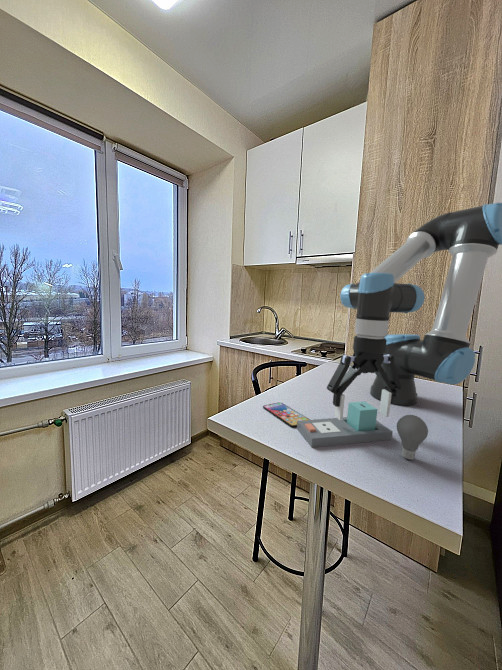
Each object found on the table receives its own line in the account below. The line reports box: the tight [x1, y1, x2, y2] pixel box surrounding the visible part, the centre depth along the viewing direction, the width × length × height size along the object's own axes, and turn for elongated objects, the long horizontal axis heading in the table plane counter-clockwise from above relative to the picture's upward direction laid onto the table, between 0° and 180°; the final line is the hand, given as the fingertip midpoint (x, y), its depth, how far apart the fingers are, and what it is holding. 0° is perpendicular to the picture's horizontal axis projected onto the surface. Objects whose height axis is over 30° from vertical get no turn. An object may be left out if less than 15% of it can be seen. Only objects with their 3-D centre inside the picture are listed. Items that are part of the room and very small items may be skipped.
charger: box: [346, 401, 378, 432], centre depth 71 cm, size 5×5×7 cm
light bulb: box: [396, 414, 429, 460], centre depth 60 cm, size 6×6×10 cm
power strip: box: [296, 416, 393, 448], centre depth 70 cm, size 22×9×3 cm, turn 103°
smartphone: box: [262, 402, 311, 429], centre depth 81 cm, size 7×1×15 cm
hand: (361, 416), depth 71 cm, fingers open, 13 cm apart
